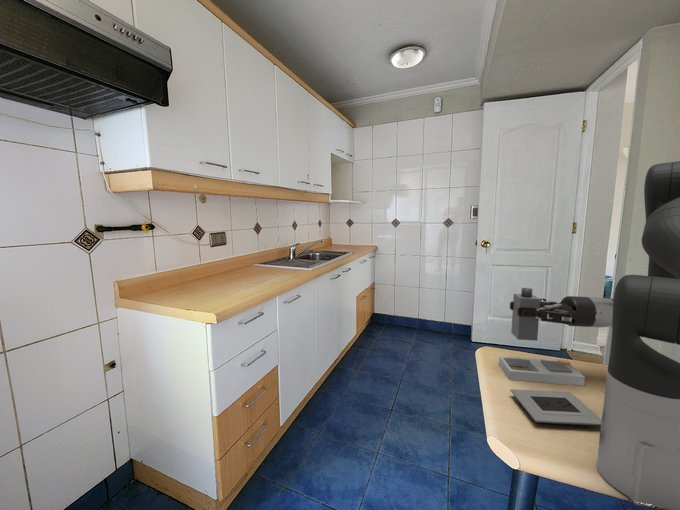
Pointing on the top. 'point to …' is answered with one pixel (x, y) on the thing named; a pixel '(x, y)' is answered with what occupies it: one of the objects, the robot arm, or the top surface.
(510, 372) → the grey rectangular frame
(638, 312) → the robot arm
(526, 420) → the top surface
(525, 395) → the electrical outlet
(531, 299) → the plug
